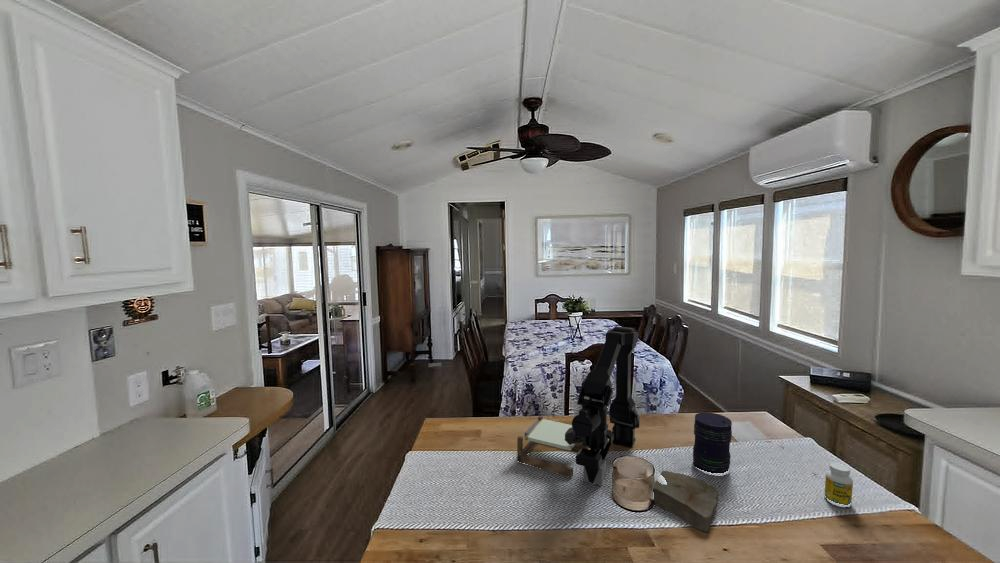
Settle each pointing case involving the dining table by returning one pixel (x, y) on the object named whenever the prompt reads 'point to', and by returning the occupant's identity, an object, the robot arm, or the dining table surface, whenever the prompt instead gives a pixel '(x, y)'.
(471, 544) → the dining table surface
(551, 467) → the frame
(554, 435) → the trapdoor
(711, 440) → the storage jar
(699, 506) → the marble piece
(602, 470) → the gray cube
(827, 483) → the supplement bottle
